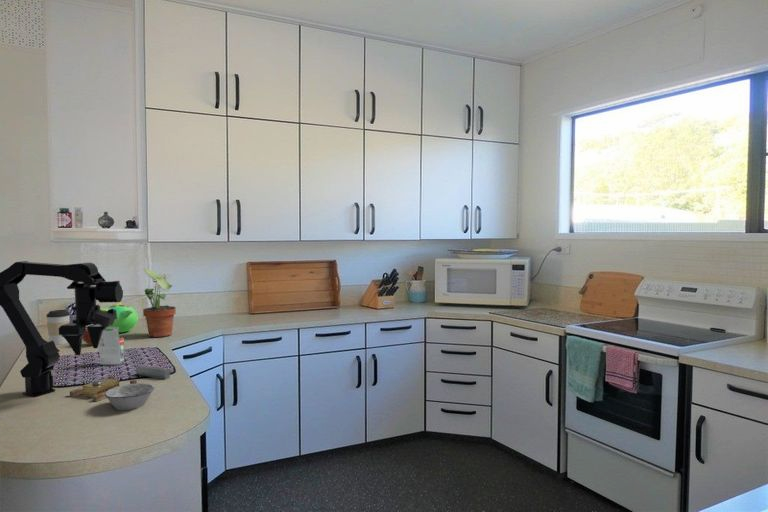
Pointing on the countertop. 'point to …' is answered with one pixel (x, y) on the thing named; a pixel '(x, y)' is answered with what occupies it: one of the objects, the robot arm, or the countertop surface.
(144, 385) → the bowl
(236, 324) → the countertop surface
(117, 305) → the toy bird
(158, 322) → the potted plant
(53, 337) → the coffee cup
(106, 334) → the ink box
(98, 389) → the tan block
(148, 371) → the bench stop
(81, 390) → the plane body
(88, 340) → the fruit
